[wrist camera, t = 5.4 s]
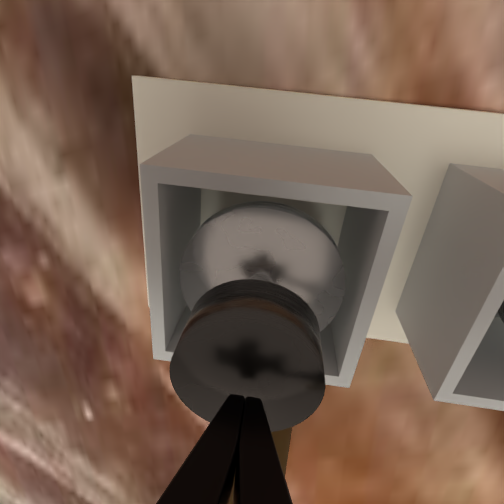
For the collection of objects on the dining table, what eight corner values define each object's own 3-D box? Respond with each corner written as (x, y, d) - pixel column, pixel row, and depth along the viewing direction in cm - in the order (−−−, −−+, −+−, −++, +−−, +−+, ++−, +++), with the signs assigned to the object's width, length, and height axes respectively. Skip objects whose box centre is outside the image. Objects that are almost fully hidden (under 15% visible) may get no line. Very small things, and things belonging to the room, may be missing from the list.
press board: (725, 136, 16) (1041, 181, 9) (565, 355, 22) (679, 473, 16) (139, 75, 17) (43, 76, 10) (153, 298, 24) (100, 384, 17)
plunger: (360, 212, 13) (404, 302, 8) (325, 345, 16) (340, 471, 11) (184, 190, 13) (116, 264, 8) (185, 326, 16) (137, 437, 11)
